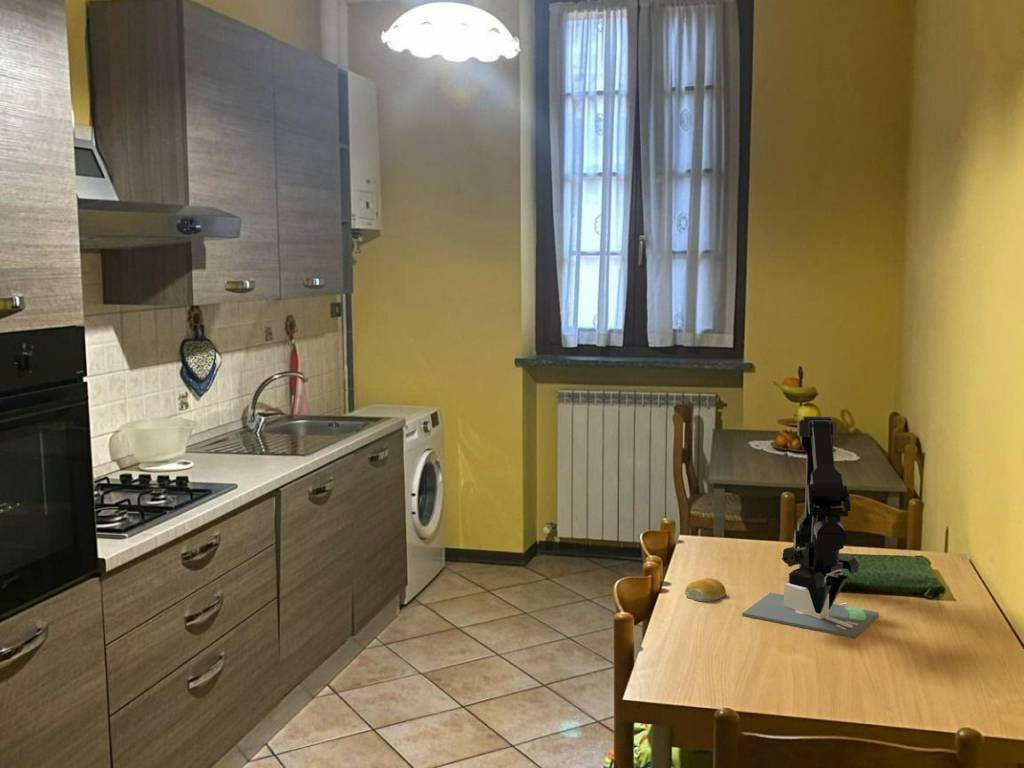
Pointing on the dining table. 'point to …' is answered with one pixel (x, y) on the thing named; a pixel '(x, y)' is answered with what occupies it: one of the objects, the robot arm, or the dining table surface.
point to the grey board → (777, 612)
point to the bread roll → (705, 590)
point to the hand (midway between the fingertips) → (822, 610)
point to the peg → (806, 603)
